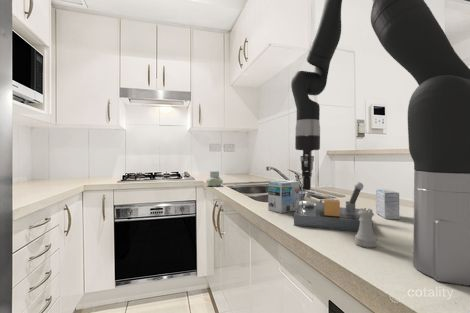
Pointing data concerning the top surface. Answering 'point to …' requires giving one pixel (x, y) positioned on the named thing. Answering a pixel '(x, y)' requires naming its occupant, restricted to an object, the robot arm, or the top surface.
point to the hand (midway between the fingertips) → (306, 189)
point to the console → (327, 217)
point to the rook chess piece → (365, 229)
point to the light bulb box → (283, 195)
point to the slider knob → (331, 207)
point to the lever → (356, 192)
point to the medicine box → (387, 204)
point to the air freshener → (214, 179)
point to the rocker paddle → (312, 199)
